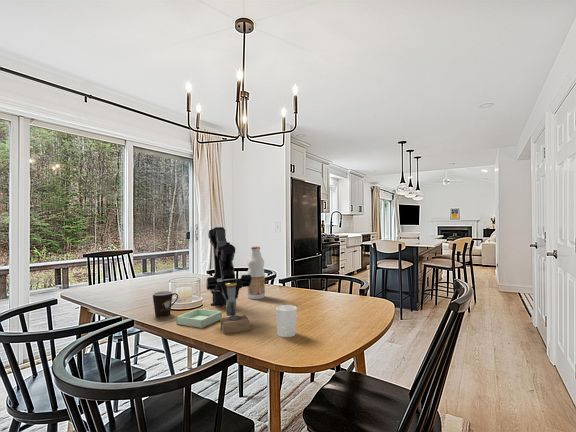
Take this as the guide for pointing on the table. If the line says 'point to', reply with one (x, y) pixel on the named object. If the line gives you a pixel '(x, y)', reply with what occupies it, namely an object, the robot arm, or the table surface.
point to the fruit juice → (256, 274)
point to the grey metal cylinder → (231, 298)
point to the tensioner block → (234, 324)
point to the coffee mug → (163, 303)
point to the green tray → (199, 318)
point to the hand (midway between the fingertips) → (231, 299)
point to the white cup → (286, 320)
